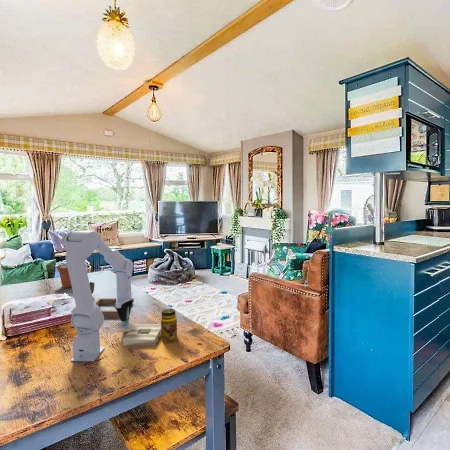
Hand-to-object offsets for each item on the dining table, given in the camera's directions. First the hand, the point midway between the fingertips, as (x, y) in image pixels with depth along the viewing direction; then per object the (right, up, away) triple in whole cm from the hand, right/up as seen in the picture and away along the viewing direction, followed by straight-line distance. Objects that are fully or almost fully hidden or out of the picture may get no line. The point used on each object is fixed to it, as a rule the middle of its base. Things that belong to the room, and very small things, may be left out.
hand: (125, 318), depth 129 cm
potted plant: (-55, +1, +67) cm, 87 cm away
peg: (0, -2, 0) cm, 2 cm away
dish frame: (-15, -3, +23) cm, 28 cm away
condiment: (+19, -6, -8) cm, 22 cm away
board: (+10, -5, -7) cm, 13 cm away
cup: (-35, -1, +43) cm, 56 cm away
